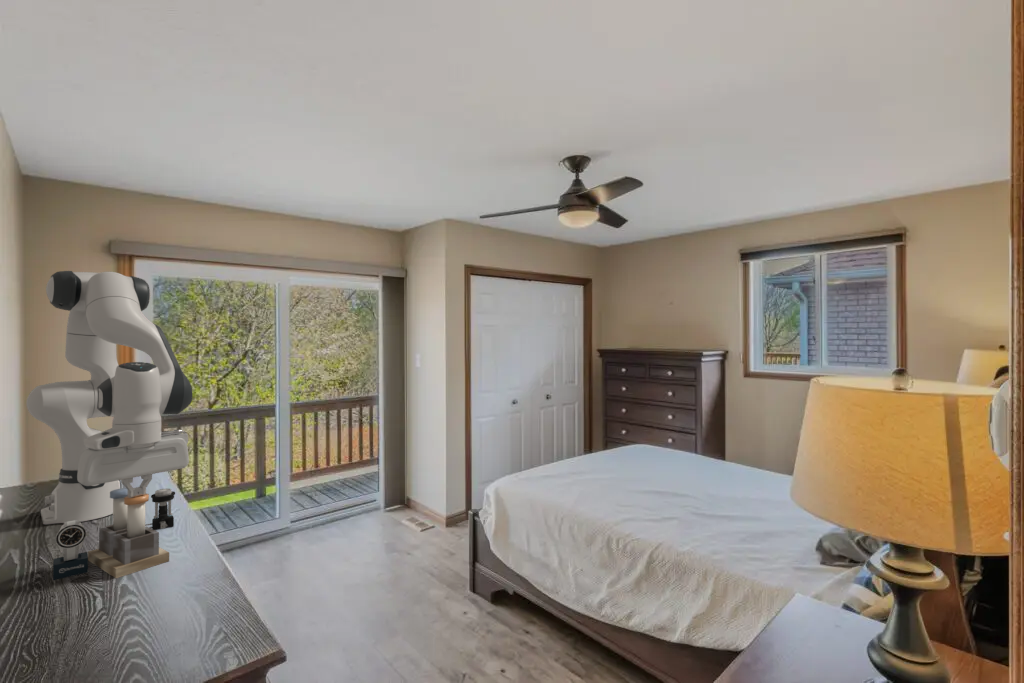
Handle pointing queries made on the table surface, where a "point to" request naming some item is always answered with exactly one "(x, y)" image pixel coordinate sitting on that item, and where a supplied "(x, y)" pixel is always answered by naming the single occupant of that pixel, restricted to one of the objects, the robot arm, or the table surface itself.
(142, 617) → the table surface
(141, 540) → the mount
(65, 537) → the watch
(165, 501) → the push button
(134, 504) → the knob
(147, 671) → the table surface
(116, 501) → the knob
